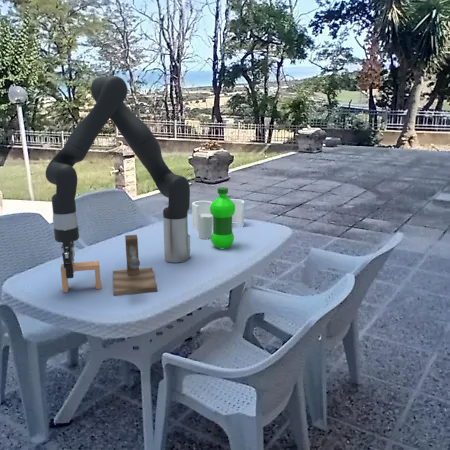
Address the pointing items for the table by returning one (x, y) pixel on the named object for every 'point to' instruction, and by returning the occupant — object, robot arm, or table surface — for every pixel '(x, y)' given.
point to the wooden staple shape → (81, 267)
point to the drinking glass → (205, 225)
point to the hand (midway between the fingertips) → (70, 275)
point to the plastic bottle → (222, 219)
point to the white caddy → (204, 208)
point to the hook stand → (133, 272)
